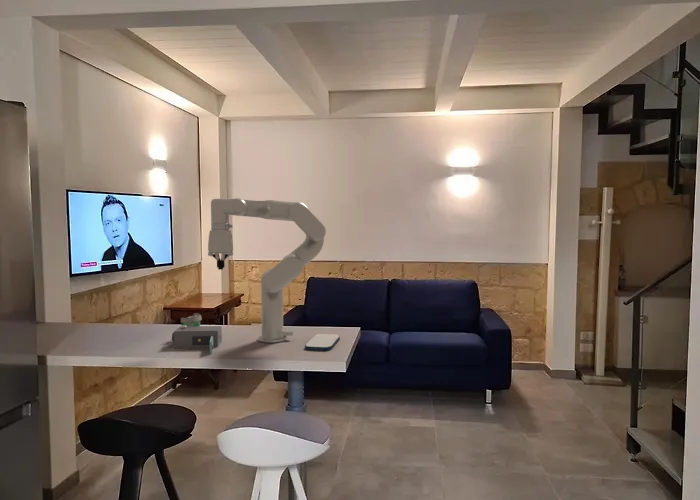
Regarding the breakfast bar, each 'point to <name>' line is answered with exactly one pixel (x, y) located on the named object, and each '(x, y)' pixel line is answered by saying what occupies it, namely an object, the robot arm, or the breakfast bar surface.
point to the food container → (192, 320)
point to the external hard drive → (322, 342)
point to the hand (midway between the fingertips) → (220, 269)
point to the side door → (211, 344)
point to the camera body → (196, 336)
